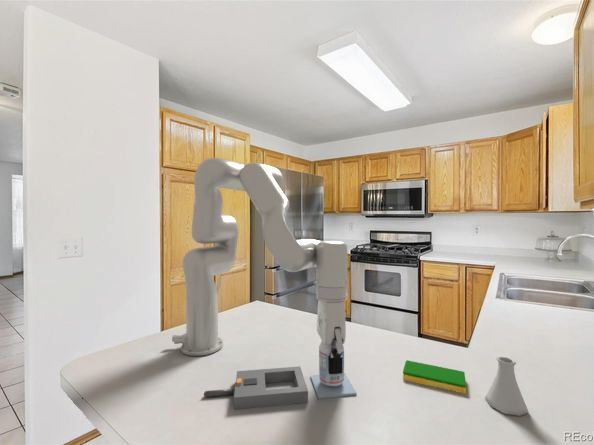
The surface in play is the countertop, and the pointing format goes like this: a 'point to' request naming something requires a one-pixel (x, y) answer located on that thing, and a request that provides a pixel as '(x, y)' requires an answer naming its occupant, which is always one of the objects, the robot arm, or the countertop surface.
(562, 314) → the countertop surface
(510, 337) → the countertop surface
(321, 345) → the pill bottle
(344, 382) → the slate mat
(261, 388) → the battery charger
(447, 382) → the dish sponge
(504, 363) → the flask
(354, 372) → the countertop surface
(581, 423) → the countertop surface
